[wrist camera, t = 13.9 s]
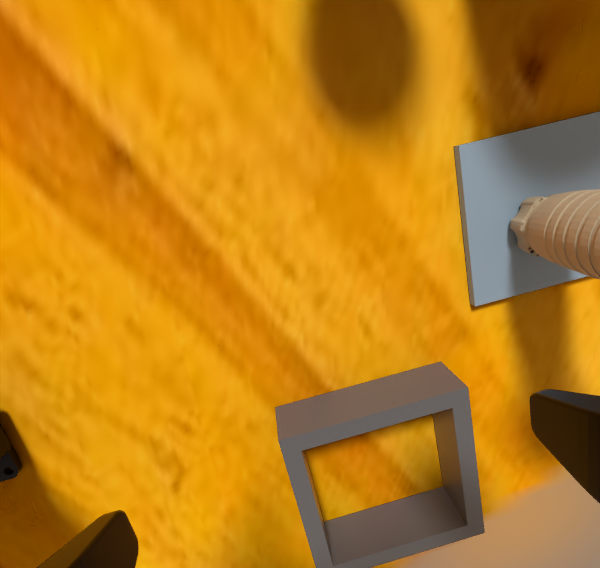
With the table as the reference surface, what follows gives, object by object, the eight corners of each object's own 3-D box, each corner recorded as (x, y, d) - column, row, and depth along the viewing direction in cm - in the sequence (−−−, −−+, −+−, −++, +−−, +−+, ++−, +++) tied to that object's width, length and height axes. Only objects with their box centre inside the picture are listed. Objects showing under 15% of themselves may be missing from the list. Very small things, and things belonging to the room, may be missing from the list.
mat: (470, 303, 22) (475, 306, 21) (453, 146, 19) (458, 145, 19) (609, 266, 22) (617, 268, 22) (611, 108, 20) (620, 106, 19)
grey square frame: (312, 537, 25) (320, 582, 22) (275, 407, 22) (278, 440, 19) (458, 493, 26) (484, 532, 23) (440, 361, 23) (467, 387, 20)
